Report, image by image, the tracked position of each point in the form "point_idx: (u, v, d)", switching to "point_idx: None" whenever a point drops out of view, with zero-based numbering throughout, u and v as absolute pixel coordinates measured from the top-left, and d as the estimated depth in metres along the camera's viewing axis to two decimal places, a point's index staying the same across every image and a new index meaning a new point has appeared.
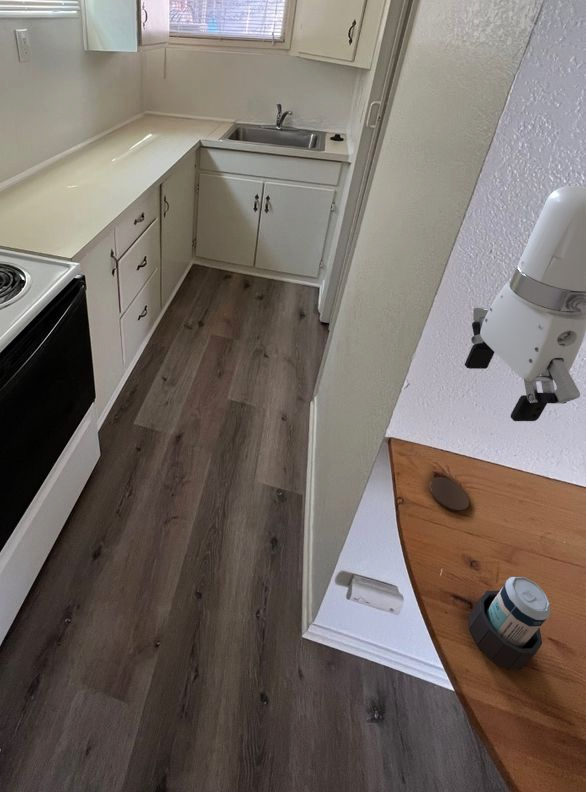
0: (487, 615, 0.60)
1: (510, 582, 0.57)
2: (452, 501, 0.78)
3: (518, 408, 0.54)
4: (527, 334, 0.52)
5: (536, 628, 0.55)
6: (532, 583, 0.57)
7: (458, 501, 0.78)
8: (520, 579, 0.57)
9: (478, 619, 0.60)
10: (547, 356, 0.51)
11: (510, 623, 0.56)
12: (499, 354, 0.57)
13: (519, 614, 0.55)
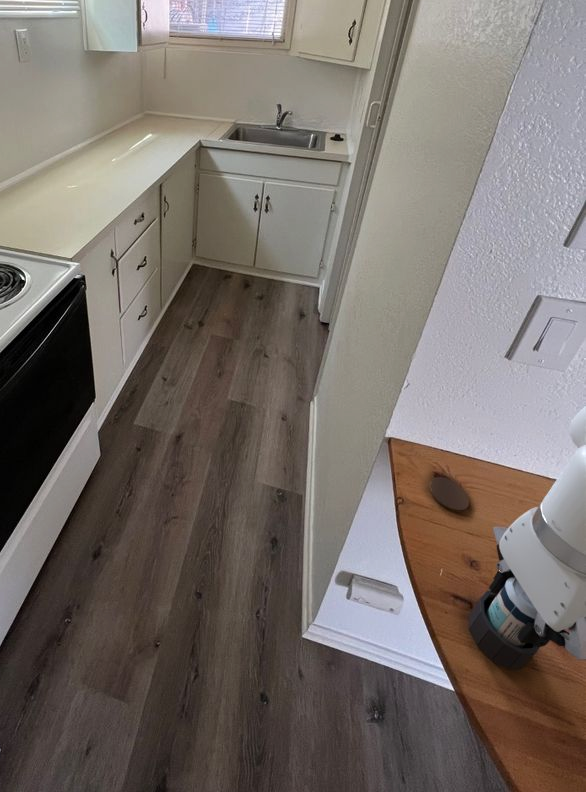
0: (487, 615, 0.60)
1: (510, 582, 0.57)
2: (452, 501, 0.78)
3: (525, 634, 0.54)
4: (552, 584, 0.50)
5: None
6: None
7: (458, 501, 0.78)
8: None
9: (478, 619, 0.60)
10: (574, 615, 0.48)
11: (510, 623, 0.56)
12: (520, 583, 0.54)
13: (519, 614, 0.55)
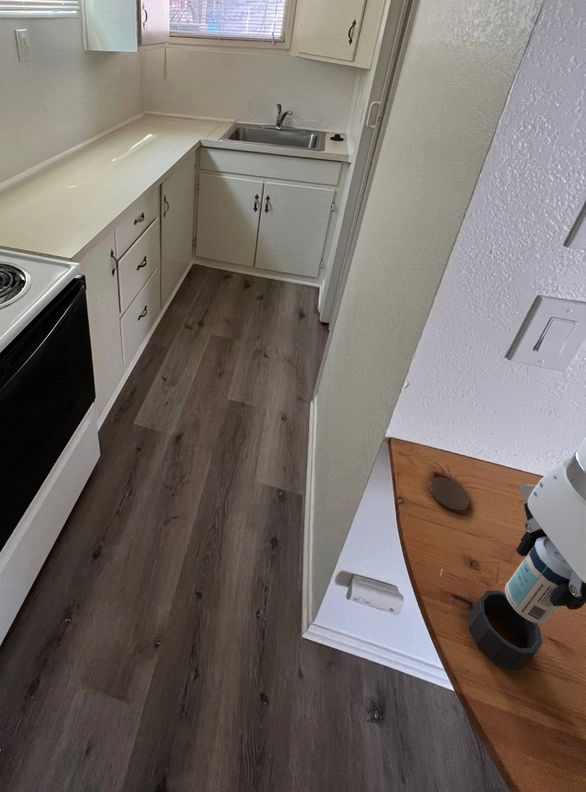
0: (514, 579, 0.56)
1: (540, 542, 0.53)
2: (452, 501, 0.78)
3: (559, 595, 0.50)
4: None
5: None
6: None
7: (458, 501, 0.78)
8: None
9: (478, 619, 0.60)
10: None
11: (541, 585, 0.52)
12: (553, 541, 0.50)
13: (551, 575, 0.51)
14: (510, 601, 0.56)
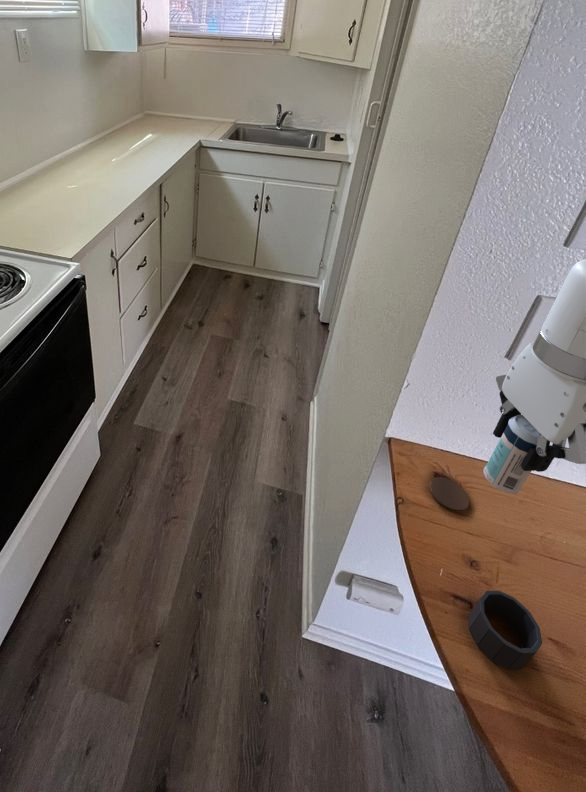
0: (492, 458, 0.64)
1: (512, 419, 0.61)
2: (452, 501, 0.78)
3: (528, 460, 0.58)
4: (552, 399, 0.54)
5: None
6: None
7: (458, 501, 0.78)
8: (522, 416, 0.61)
9: (478, 619, 0.60)
10: (573, 422, 0.52)
11: (513, 456, 0.60)
12: (523, 413, 0.58)
13: (521, 443, 0.59)
14: (488, 478, 0.64)
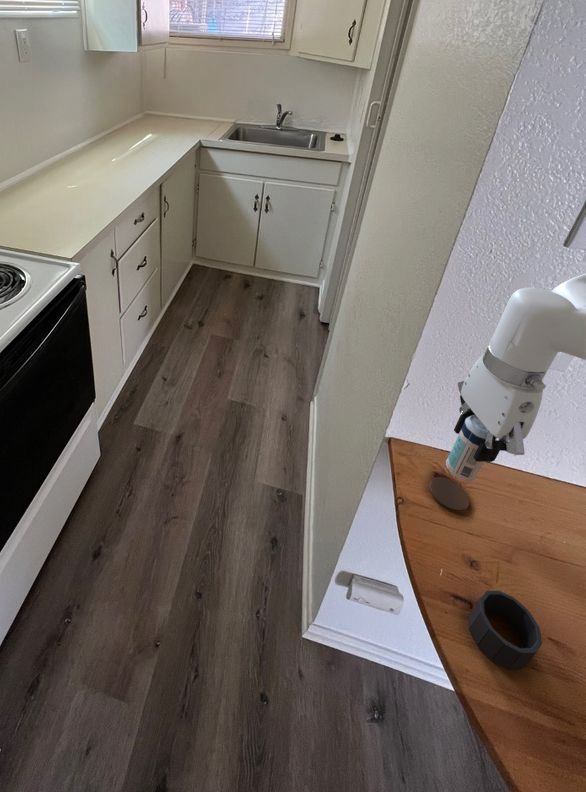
0: (452, 451, 0.76)
1: (468, 418, 0.73)
2: (452, 501, 0.78)
3: (479, 452, 0.70)
4: (496, 401, 0.65)
5: None
6: None
7: (458, 501, 0.78)
8: (476, 416, 0.73)
9: (478, 619, 0.60)
10: (511, 420, 0.64)
11: (468, 448, 0.72)
12: (475, 413, 0.70)
13: (474, 438, 0.70)
14: (449, 468, 0.76)
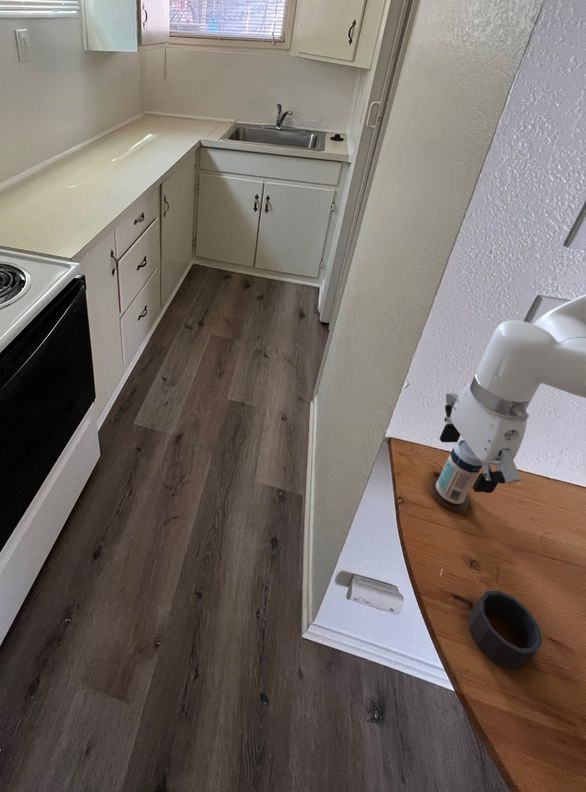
0: (441, 474, 0.79)
1: (457, 443, 0.75)
2: None
3: (478, 483, 0.70)
4: (483, 428, 0.68)
5: (475, 474, 0.74)
6: None
7: None
8: (464, 441, 0.76)
9: (478, 619, 0.60)
10: (497, 447, 0.66)
11: (456, 473, 0.75)
12: (464, 438, 0.73)
13: (462, 464, 0.73)
14: (438, 490, 0.79)
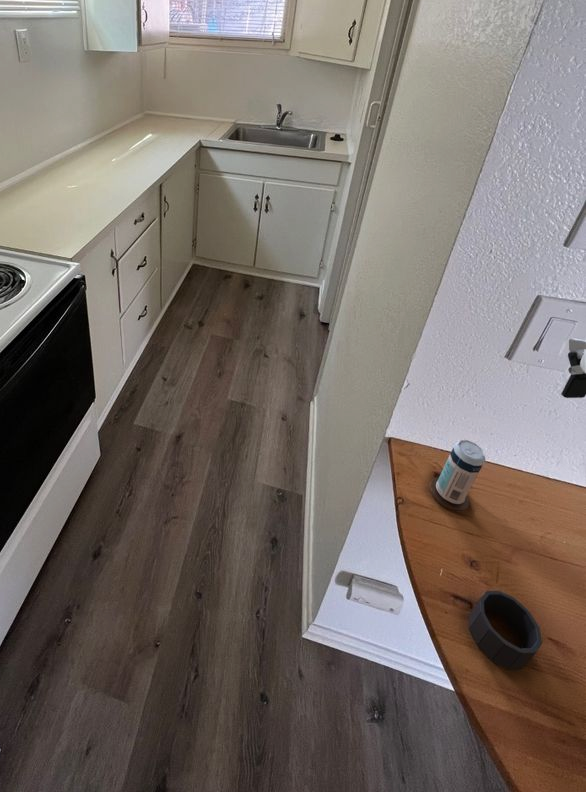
0: (441, 474, 0.79)
1: (457, 443, 0.75)
2: None
3: None
4: None
5: (475, 474, 0.74)
6: (473, 444, 0.75)
7: None
8: (464, 441, 0.76)
9: (478, 619, 0.60)
10: None
11: (456, 473, 0.75)
12: None
13: (462, 464, 0.73)
14: (438, 490, 0.79)
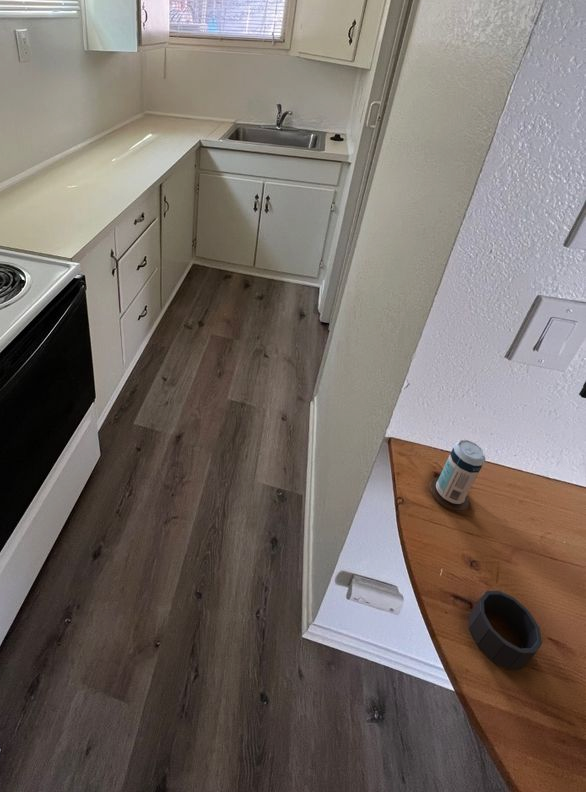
0: (441, 474, 0.79)
1: (457, 443, 0.75)
2: None
3: None
4: None
5: (475, 474, 0.74)
6: (473, 444, 0.75)
7: None
8: (464, 441, 0.76)
9: (478, 619, 0.60)
10: None
11: (456, 473, 0.75)
12: None
13: (462, 464, 0.73)
14: (438, 490, 0.79)
